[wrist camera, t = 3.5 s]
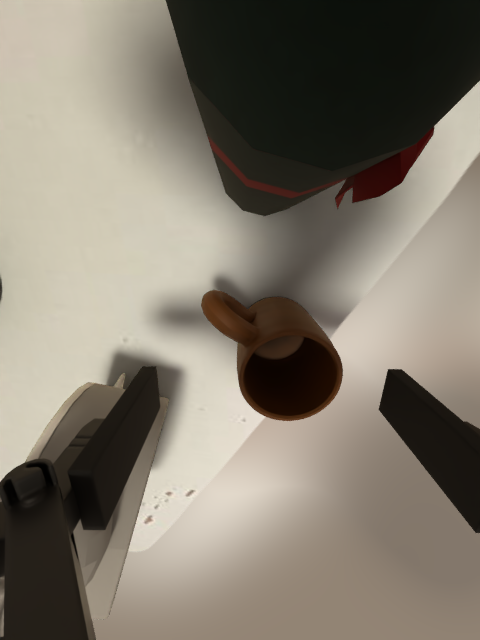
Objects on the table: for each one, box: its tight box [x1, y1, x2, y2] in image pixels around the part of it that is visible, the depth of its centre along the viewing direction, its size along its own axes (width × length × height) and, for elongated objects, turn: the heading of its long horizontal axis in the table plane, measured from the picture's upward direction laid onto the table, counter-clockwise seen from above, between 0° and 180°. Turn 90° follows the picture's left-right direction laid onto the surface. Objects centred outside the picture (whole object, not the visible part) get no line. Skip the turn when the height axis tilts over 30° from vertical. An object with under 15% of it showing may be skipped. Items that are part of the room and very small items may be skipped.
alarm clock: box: [0, 373, 169, 640], centre depth 20 cm, size 16×9×22 cm, turn 161°
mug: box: [201, 290, 343, 421], centre depth 22 cm, size 12×8×9 cm, turn 48°
